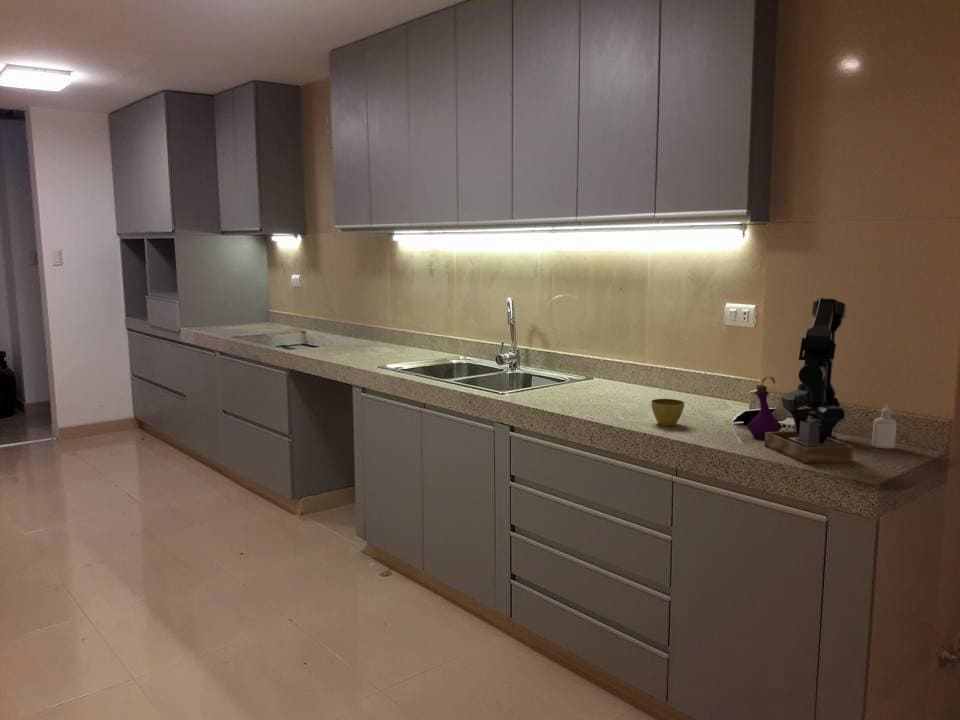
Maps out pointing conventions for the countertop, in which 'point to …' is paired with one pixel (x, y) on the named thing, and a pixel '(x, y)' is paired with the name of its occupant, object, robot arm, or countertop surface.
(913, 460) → the countertop surface
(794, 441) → the collar
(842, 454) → the walnut box
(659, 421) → the flower pot
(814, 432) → the grey box with knob
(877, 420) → the eye dropper bottle
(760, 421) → the perfume bottle
